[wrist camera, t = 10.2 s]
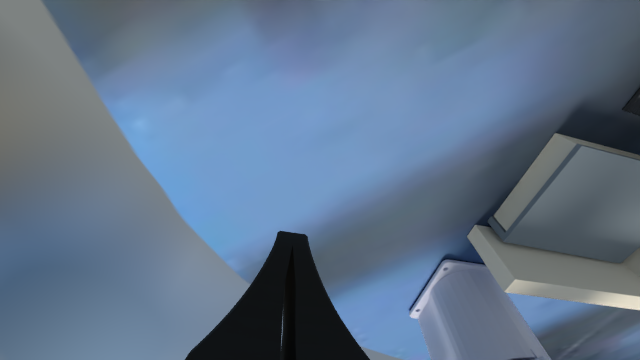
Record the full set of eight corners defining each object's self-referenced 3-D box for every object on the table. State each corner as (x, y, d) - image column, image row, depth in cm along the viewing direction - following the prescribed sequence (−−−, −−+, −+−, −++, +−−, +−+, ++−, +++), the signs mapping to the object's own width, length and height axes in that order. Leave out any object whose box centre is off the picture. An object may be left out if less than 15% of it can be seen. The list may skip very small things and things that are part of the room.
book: (592, 239, 28) (620, 263, 25) (484, 218, 26) (503, 241, 23) (673, 161, 23) (718, 181, 20) (549, 128, 21) (582, 145, 19)
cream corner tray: (603, 258, 28) (667, 313, 23) (466, 236, 26) (504, 292, 21) (747, 125, 21) (887, 164, 16) (572, 80, 19) (668, 108, 14)
